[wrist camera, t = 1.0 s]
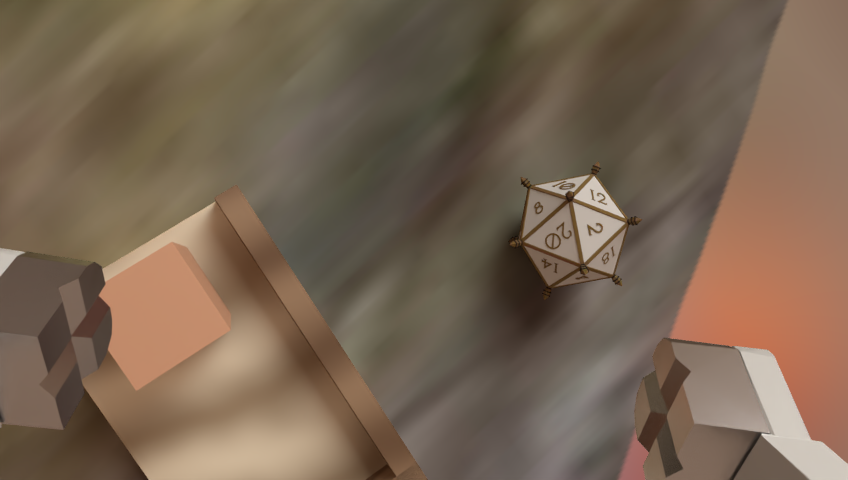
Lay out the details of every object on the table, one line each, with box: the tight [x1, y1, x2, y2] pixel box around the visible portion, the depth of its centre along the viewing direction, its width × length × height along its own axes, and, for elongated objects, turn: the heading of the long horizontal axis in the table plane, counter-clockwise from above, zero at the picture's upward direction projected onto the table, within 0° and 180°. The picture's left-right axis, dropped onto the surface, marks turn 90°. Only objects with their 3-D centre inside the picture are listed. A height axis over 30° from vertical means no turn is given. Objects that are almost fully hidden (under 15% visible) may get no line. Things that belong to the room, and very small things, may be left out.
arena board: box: [82, 185, 428, 480], centre depth 46 cm, size 22×14×4 cm, turn 33°
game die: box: [508, 161, 642, 300], centre depth 50 cm, size 9×8×10 cm
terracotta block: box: [99, 242, 231, 391], centre depth 40 cm, size 5×5×12 cm
